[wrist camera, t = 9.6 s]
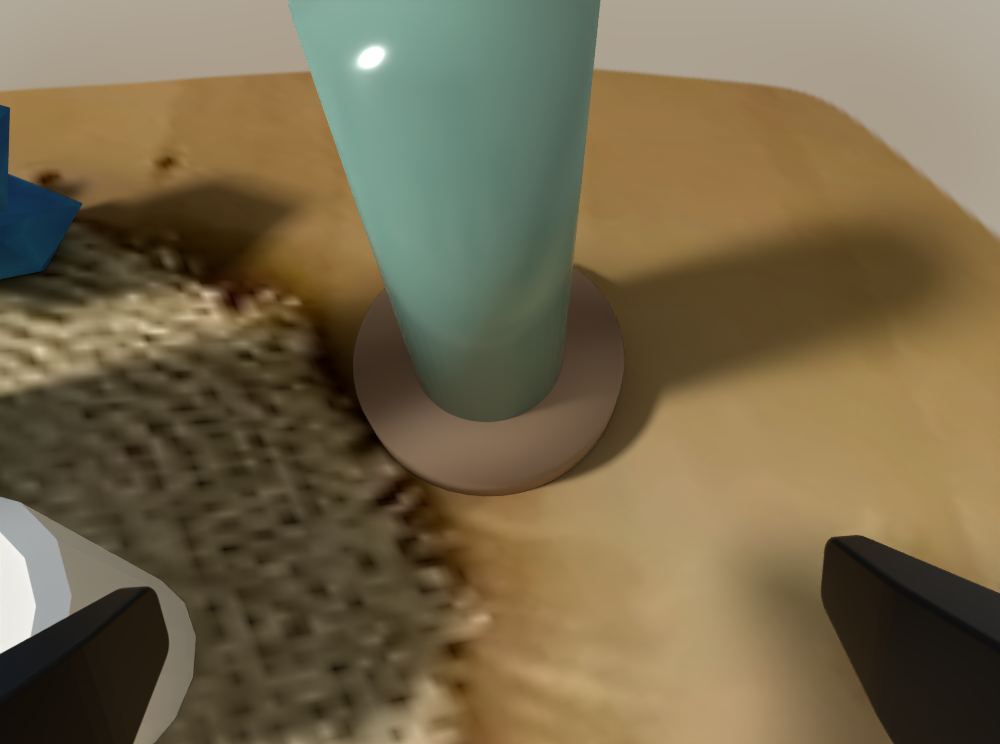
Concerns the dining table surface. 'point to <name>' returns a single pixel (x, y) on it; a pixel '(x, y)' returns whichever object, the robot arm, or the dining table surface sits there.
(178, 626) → the white cup
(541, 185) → the teal rounded cylinder
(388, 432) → the walnut base
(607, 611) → the dining table surface
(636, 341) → the dining table surface
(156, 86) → the dining table surface
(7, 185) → the crystal
